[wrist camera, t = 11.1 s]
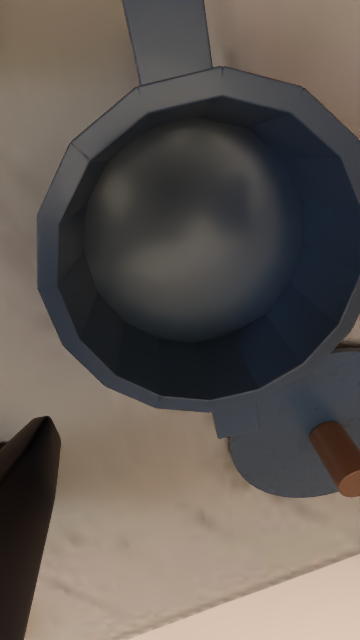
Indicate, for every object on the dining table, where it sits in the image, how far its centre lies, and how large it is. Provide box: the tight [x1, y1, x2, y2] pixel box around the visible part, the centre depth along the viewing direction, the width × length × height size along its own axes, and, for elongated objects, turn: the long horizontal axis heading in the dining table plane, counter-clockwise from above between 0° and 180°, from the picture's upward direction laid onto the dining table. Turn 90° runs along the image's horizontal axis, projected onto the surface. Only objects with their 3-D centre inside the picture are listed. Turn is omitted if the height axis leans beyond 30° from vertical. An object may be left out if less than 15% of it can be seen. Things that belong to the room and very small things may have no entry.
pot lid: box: [229, 348, 360, 498], centre depth 23 cm, size 15×15×5 cm
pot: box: [37, 0, 360, 439], centre depth 16 cm, size 14×19×6 cm
